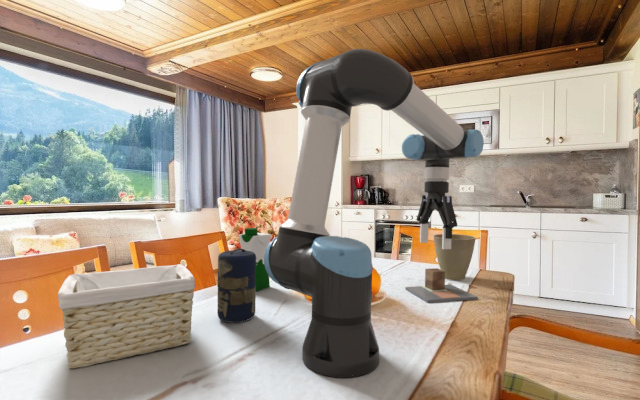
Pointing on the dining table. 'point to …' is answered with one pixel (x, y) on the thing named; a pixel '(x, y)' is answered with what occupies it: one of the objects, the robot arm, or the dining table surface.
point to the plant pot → (455, 255)
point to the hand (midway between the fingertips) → (434, 245)
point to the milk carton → (257, 253)
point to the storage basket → (125, 312)
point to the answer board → (441, 294)
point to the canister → (236, 285)
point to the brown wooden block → (435, 279)
